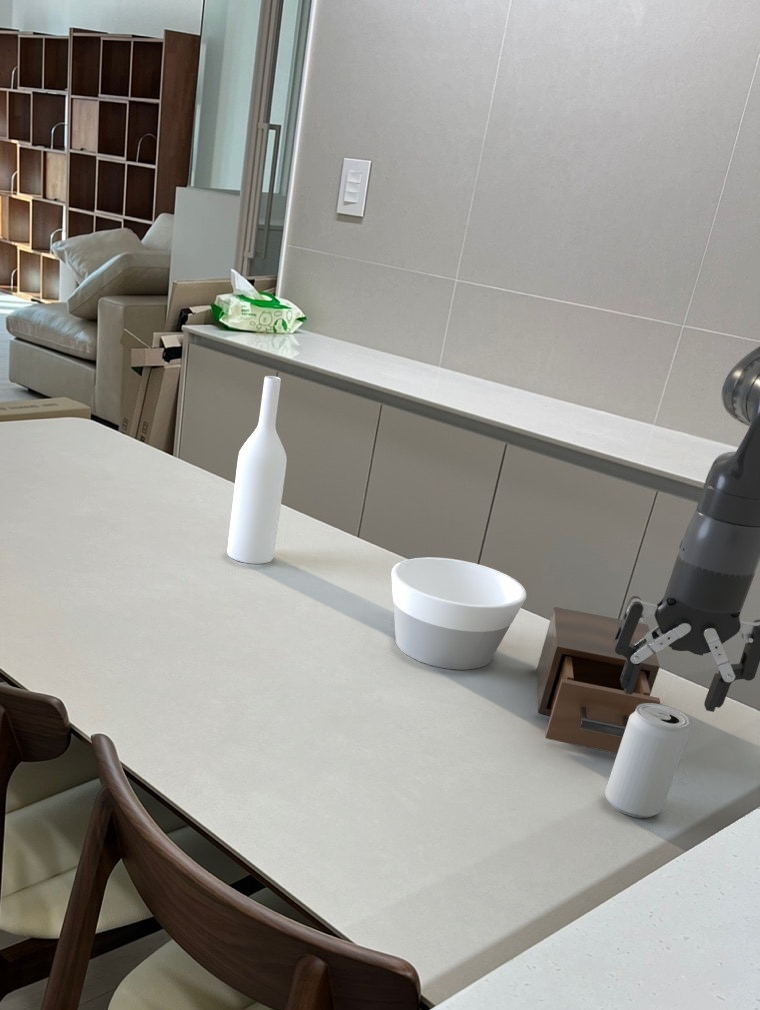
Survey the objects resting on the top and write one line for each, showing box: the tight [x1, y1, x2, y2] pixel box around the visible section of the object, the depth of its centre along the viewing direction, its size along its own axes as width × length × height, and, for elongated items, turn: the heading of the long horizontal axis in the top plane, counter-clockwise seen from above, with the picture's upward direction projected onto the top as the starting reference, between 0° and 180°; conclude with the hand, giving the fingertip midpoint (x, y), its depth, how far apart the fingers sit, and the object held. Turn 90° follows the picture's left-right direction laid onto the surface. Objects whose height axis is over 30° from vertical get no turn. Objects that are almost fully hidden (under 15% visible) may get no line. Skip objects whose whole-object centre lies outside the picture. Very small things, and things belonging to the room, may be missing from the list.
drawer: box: [545, 654, 661, 754], centre depth 133 cm, size 18×12×8 cm, turn 165°
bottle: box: [226, 375, 288, 565], centre depth 176 cm, size 8×8×30 cm
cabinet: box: [536, 606, 660, 717], centre depth 143 cm, size 15×13×10 cm
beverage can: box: [604, 703, 690, 819], centre depth 119 cm, size 6×6×12 cm
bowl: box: [391, 556, 527, 671], centre depth 153 cm, size 19×19×11 cm
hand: (668, 700), depth 115 cm, fingers open, 8 cm apart
